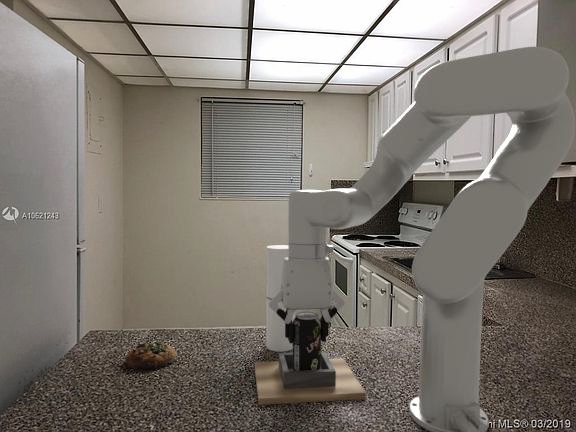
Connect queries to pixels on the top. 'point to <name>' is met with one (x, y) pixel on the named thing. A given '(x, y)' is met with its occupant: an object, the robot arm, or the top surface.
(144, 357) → the bread roll
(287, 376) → the board
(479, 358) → the robot arm
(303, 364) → the beverage can
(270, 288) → the cylindrical container
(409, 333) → the top surface
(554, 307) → the top surface
